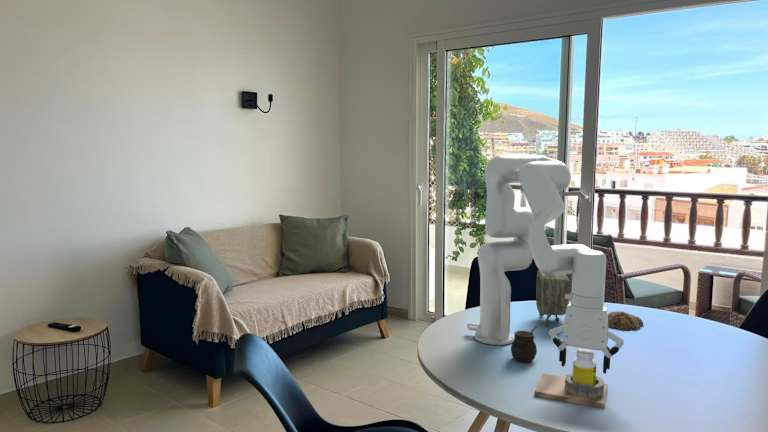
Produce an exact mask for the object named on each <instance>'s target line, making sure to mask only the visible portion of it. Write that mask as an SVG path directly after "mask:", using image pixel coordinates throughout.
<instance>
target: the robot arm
mask: <svg viewBox="0 0 768 432" xmlns="http://www.w3.org/2000/svg"><path fill="white" fill-rule="evenodd" d="M571 175H572V174H571V172H570V169H569V168H568V166H567V165H566V164H565V163H564V162H562V161H560V160H558V159H554V158H551V157H548V156H544V155H541V154H502V155H501V154H500V155H496V156H493V157H492V158H490V159H488V161H487V163H486V165H485V169H484V182H485V186H486V205H485V221H484V228H485V229H484V230H485V233H486V235H487V236H488V237H490V238H493V239H494V238H495V239H507V238H508V239H509V238H513V240H499V241H498V240H496V241H495V240H494V241H489V242H485V243H484V244H481V246H480V247H479V248H478V251H477V263H478V268H479V276H480V277H479V278H480V280H479V281H480V282H479V283H480V285H479V286H480V288H479V289H480V293H479V294H480V296H479V298H480V299H479V301H480V302H479V322H476V323H475V322H471V321H470V322H469V321H468V322H467V323H466V328H467V329H468V330H469V331H474V332H475V333H474V338H475V340H476V341H477V342H479V343H483V344H486V345H491V346H503V345H508V344H512V343H513V341H514V339H515V337H514V335H515V334H514V333H512V332H511V302H512V301H511V299H512V298H511V297H512V296H511V295H512V286H511V283H510V281H509V279H508V277H507V275H506V274H505V272H508V271H510V272H511V271H512V272H513V271H521V270H526V269H528V268H529V267H530V266H531V265H532V262H533V260H534V264H535V266H536V267H537V269H538V270H539V271H541V272H542V273H543V274H546V275H562V274H565V275H572V277H571V292H569V294H565V299H568V300H569V304H568V306H567V309H566V314H564V322H563V325H560V326H557V327H554V328H551V329H549V331H548V334H549V336H550V338H551V340H552V343H553V344H554V345H555V346H556V348H557V350H558V351H559V353H558V354H559V355H558V356H559V357H558V361H559V362H561V367H566V362H567V347H568V346H569V347H574V348H578V349H589V350H591V351H593V350H594V351H602V354H604V355H603V364H602V365H603V366H602V373H603V374H607V370H610V367H611V358H612V356H614V355H616V354H617V353H618V352H619V351H620V349H621V348H622V347H623V345H624V344H625V340H624V339H623V338H622V337H620V336H618V335H617V334H615V333H614V332H612V331H610V330H609V327H608V309H607V307H606V306H605V294H606V293H605V292H606V291H605V290H606V274H607V271H606V270H607V256H606V254H605V253H604V252H603V251H601V250H598V249H597V250H596V249H591V248H590V247H588V246H586V245H585V244H581V243H569V244H568V243H566V244H554V245H553V244H552V245H551V244H550V241H549V240H548V238H547V234H546V229H545V228H546V225H547V224H549V223H551V222H553V221H554V220H556V219H557V218H559V217H560V216H561V215H563V213H564V211H565V209H566V208H565V207H566V206H565V203H564V200H563V198H562V197H561V194H560V191H564V190H566V189H567V188H568V187H570V184H571V179H572V176H571ZM512 184H520V186H521V188H522V191H523V194H524V196H525V198H526V200H527V203H528V205H529V208H528V207H524V206H516V207H515V202H516V201H515V200H516V194H515V191H514V189H513V187H512ZM561 333H563V334H562V341H561V340H560V338H559V337H558V336H557V334H561ZM609 340H611V341H613V342H615V345H613V346H612V347H609V345H608V341H609Z"/></svg>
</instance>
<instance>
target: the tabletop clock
mask: <svg viewBox="0 0 768 432" xmlns="http://www.w3.org/2000/svg"><path fill="white" fill-rule="evenodd" d="M535 291H536V293H535V296H536V298H535V299H536V301H535V303H536V308H537V309H536V310H537V311H538V315H539V317H544V315H545V316H546V320H544V321H543V326H545V327H547V326H549V322H548V321H549V320H550V318H551V316H555V318H554V321H555V322H556V323H559V322H560V318H559V317H558V316H565V314H566V309H567V306H568V304H569V303H570V300H568V299H565V294H570V279H569V277H568V276H567V274H562V275H546V274H543V273H542V272H541V271H540V270H539V269H538V270H537V272H536V289H535Z"/></svg>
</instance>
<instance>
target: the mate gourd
mask: <svg viewBox="0 0 768 432" xmlns="http://www.w3.org/2000/svg"><path fill="white" fill-rule="evenodd" d="M537 328H538V325H535V326H534V328H533V329H532V330H531V331H528V330H516V331H515V332H514V333H513V335H514V337H515V339H514V341H513V342H512V343H511V345H510V351H511V353H510V354H511V356H512V358H513V359H514V360H515V361H517V362H519V363H530V362H532V361H534V360H535V358H536V355H537V352H538V350H537V344H536V342H535V340H534V339H535V334H534V332H535V330H536V329H537Z"/></svg>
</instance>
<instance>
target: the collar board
mask: <svg viewBox="0 0 768 432" xmlns="http://www.w3.org/2000/svg"><path fill="white" fill-rule="evenodd" d="M572 379H573V372H571V373H569V374H567V375H565V376H560V375H555V374H548V373H542V374H541V376H540V378H539V380H538V382H537V385H536V387H535V389H534V397H540V398H543V399H544V398H546V399H550V400H556V401H561V402H565V403H566V402H567V403H572V404H578V405H582V406H588V407H594V408H598V409H605V405H606V398H607V393H608V392H607V391H608V383H605V380H603V379H602V378H601V377H599V376H597V375H596V382H595V385H594V386H585V385H579V384H577V383H574V382H573V381H572Z"/></svg>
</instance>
